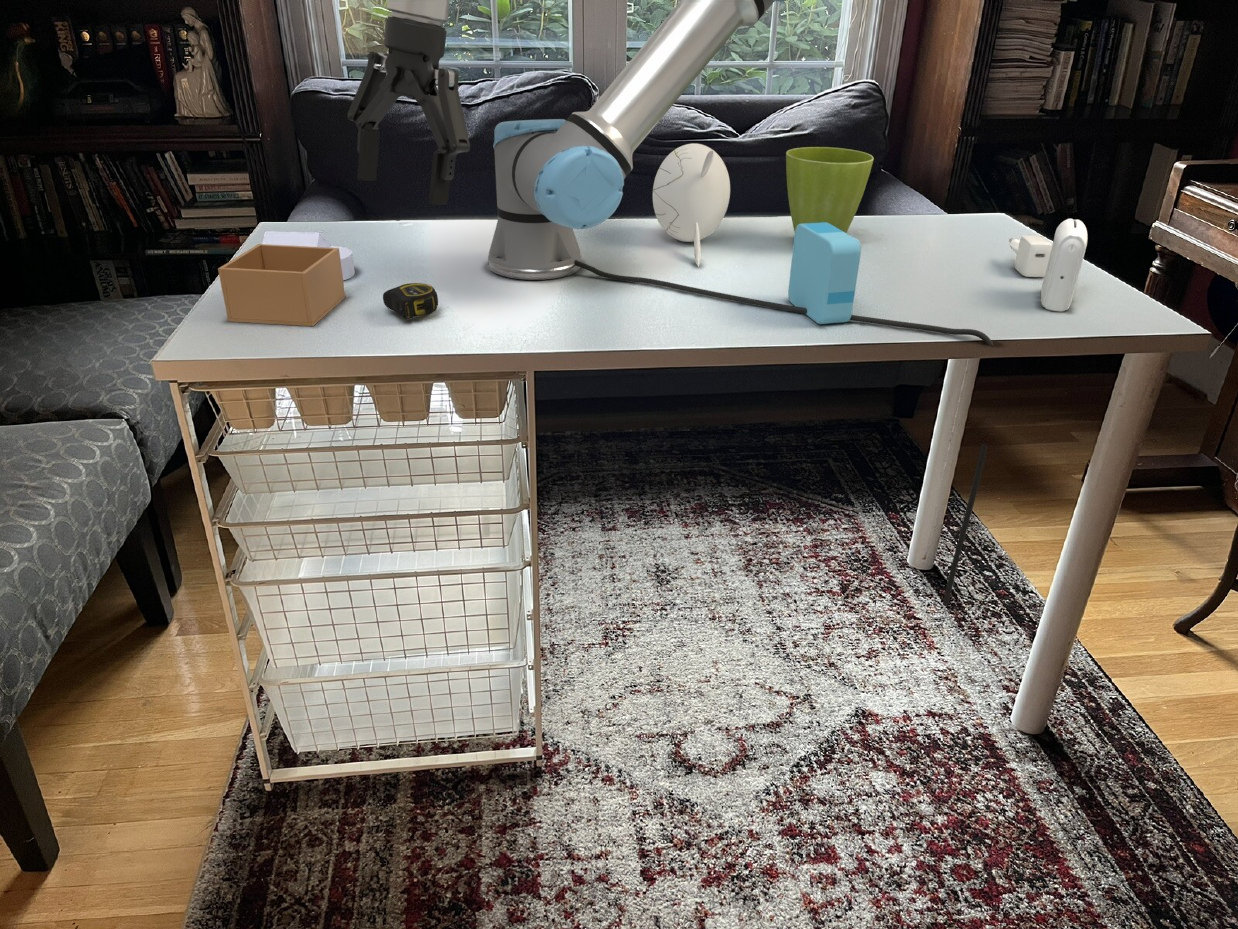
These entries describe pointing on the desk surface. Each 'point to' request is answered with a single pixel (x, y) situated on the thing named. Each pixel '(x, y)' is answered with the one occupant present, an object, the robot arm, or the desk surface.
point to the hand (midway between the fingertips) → (401, 191)
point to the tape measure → (411, 300)
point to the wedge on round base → (311, 241)
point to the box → (282, 284)
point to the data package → (824, 272)
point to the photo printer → (1064, 265)
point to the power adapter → (1031, 255)
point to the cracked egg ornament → (691, 194)
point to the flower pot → (826, 184)
